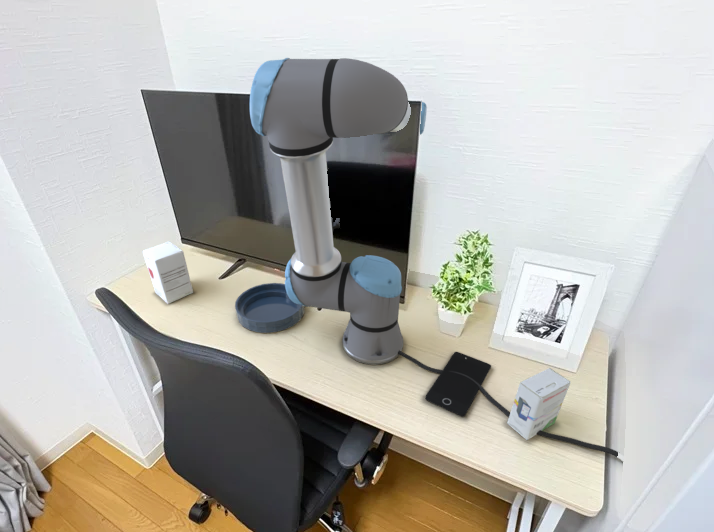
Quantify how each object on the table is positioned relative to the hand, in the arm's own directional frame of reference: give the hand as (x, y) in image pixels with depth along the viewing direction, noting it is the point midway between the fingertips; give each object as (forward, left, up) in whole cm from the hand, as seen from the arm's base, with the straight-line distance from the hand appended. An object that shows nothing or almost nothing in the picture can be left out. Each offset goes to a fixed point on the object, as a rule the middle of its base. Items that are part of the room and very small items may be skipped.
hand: (309, 245), depth 113 cm
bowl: (+6, +12, -18) cm, 22 cm away
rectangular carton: (+38, +22, -18) cm, 47 cm away
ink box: (-64, +9, -18) cm, 68 cm away
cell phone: (-48, +7, -18) cm, 52 cm away
